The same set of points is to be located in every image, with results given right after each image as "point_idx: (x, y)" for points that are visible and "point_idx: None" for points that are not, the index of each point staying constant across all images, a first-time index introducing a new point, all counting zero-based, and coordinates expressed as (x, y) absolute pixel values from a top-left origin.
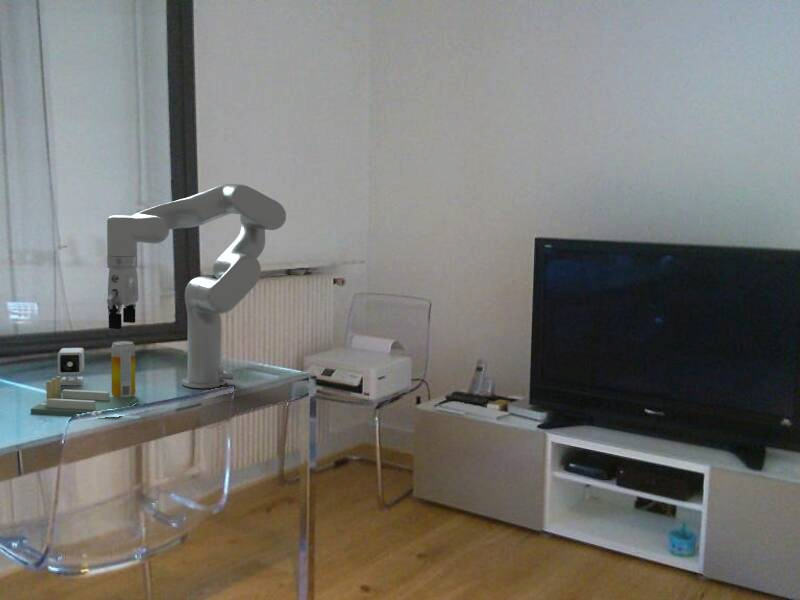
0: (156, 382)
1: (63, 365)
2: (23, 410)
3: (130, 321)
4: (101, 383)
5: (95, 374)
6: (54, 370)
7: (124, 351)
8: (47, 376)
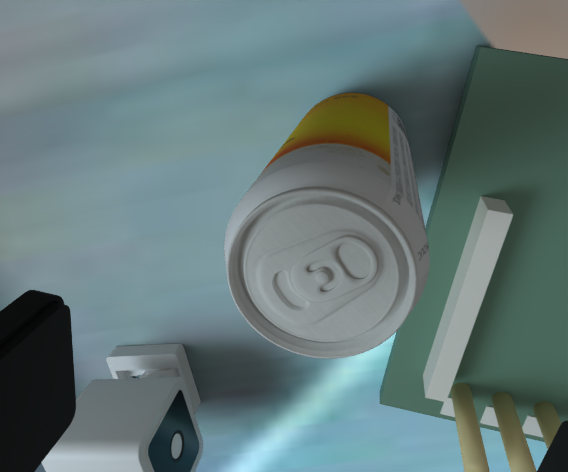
0: (67, 38)
1: (187, 462)
2: None
3: (63, 349)
4: (138, 279)
5: None
6: None
7: (424, 229)
8: None
